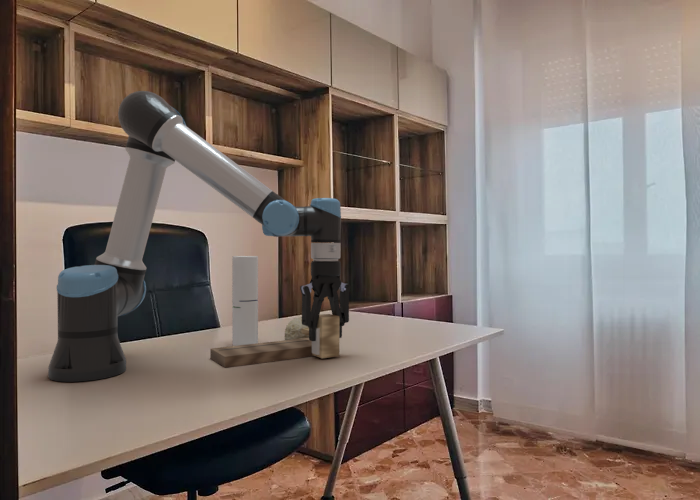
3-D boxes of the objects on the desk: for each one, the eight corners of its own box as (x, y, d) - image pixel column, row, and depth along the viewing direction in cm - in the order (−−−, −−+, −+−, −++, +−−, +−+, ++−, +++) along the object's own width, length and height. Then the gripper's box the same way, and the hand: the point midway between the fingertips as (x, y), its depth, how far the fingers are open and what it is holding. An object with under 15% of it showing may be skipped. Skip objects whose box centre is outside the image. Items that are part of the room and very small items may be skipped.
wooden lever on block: (321, 358, 123) (322, 317, 123) (296, 348, 135) (296, 311, 135) (339, 356, 126) (339, 316, 126) (312, 346, 138) (312, 310, 137)
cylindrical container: (255, 346, 140) (255, 256, 140) (229, 346, 140) (229, 256, 140) (260, 341, 147) (260, 256, 147) (235, 341, 147) (235, 256, 147)
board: (225, 367, 116) (225, 356, 116) (210, 358, 125) (210, 348, 125) (336, 352, 132) (336, 342, 132) (316, 345, 141) (316, 336, 141)
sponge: (316, 356, 146) (320, 325, 152) (312, 342, 138) (316, 310, 144) (285, 355, 147) (290, 324, 153) (279, 341, 139) (284, 309, 145)
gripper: (300, 261, 118) (300, 359, 119) (363, 259, 128) (363, 351, 128) (286, 260, 125) (286, 353, 125) (348, 259, 134) (347, 346, 135)
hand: (325, 352), depth 127 cm, fingers closed on wooden lever on block, 5 cm apart
